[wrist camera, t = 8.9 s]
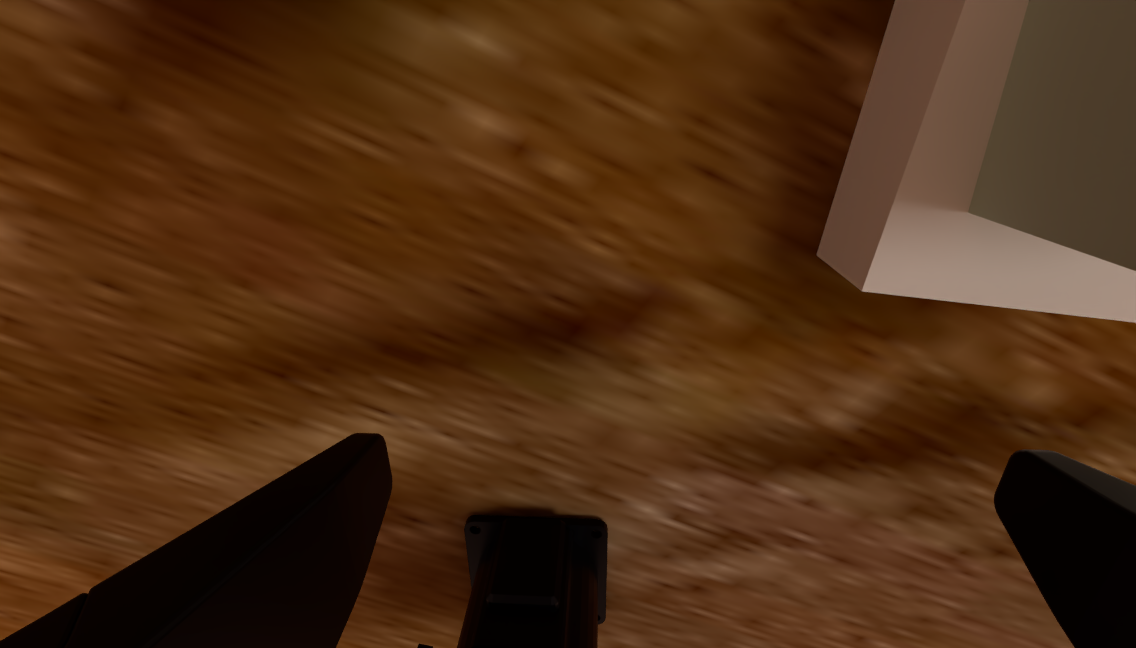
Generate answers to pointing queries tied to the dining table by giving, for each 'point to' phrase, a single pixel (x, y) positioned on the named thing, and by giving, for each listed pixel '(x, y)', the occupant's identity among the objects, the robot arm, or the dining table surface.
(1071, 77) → the sage cube
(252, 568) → the robot arm
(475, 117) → the dining table surface
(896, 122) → the plinth
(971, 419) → the dining table surface
